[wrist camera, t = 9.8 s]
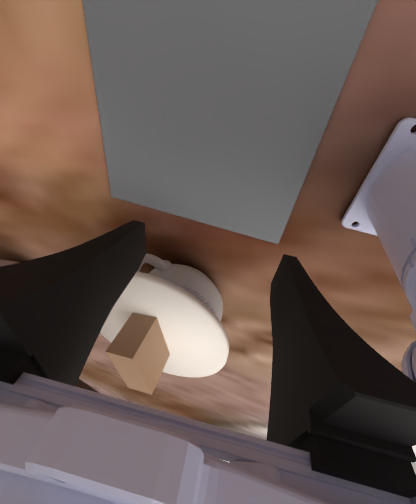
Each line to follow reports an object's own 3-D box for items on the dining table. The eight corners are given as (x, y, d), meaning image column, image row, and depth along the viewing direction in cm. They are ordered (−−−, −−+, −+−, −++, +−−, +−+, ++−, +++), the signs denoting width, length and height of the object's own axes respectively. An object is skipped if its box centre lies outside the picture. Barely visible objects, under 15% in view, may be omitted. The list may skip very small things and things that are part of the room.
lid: (224, 283, 17) (203, 341, 13) (232, 383, 26) (221, 434, 22) (64, 261, 21) (16, 300, 18) (118, 352, 30) (93, 391, 26)
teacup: (232, 318, 32) (216, 376, 26) (161, 306, 35) (133, 355, 29) (222, 229, 24) (195, 283, 18) (132, 225, 27) (84, 269, 21)
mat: (386, -25, 12) (389, -28, 11) (278, 241, 23) (278, 244, 22) (78, -56, 14) (73, -59, 14) (113, 195, 25) (111, 196, 25)
